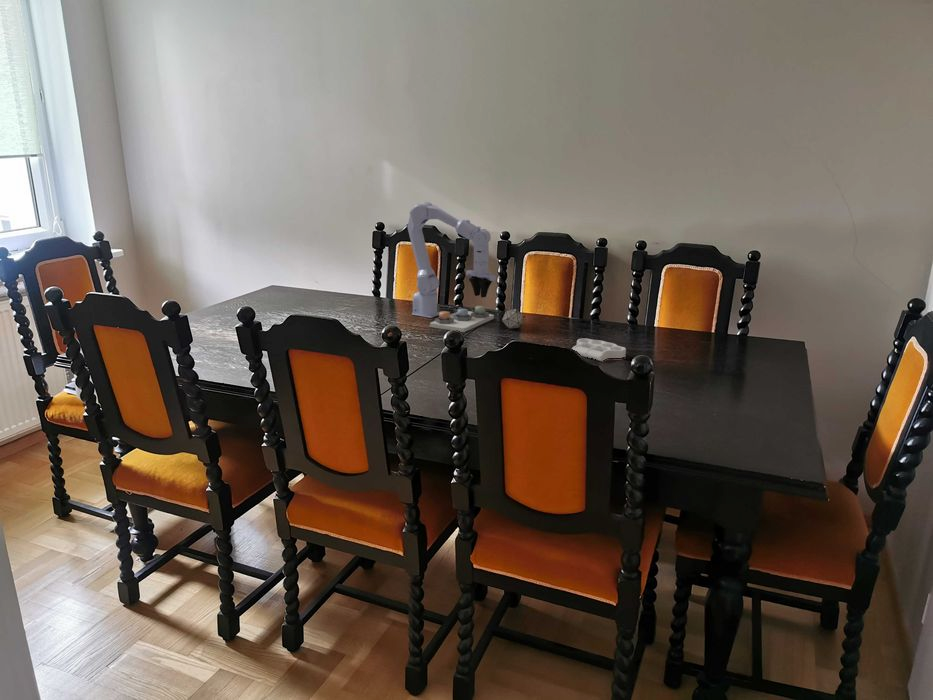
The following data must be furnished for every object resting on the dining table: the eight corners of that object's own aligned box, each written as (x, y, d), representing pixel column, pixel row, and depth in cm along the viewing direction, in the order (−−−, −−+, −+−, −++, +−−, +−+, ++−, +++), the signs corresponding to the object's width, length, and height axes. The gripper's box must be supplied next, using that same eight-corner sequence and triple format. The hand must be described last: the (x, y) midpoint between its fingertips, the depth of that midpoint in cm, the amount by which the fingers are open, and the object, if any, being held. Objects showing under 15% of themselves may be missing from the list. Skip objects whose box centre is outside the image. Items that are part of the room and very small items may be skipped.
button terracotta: (437, 318, 263) (437, 312, 263) (442, 316, 266) (442, 310, 266) (446, 320, 261) (446, 314, 261) (451, 317, 265) (451, 312, 264)
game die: (516, 339, 261) (526, 322, 254) (495, 331, 261) (504, 314, 253) (520, 323, 267) (529, 306, 260) (499, 315, 267) (508, 297, 259)
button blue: (455, 315, 268) (455, 310, 267) (460, 313, 271) (460, 308, 270) (464, 317, 266) (464, 311, 265) (469, 314, 269) (469, 309, 269)
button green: (473, 312, 272) (473, 307, 272) (478, 310, 276) (478, 305, 275) (482, 314, 270) (482, 308, 270) (486, 312, 274) (487, 306, 273)
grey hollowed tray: (562, 353, 234) (587, 345, 244) (608, 365, 222) (632, 356, 232) (563, 344, 233) (588, 335, 243) (609, 355, 221) (633, 346, 231)
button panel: (429, 326, 263) (429, 319, 262) (461, 313, 283) (461, 307, 282) (463, 332, 256) (463, 325, 255) (493, 318, 276) (493, 312, 275)
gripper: (460, 260, 270) (460, 294, 274) (486, 265, 259) (485, 301, 263) (473, 258, 274) (473, 292, 278) (500, 263, 264) (499, 298, 268)
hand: (480, 296), depth 271 cm, fingers open, 3 cm apart
